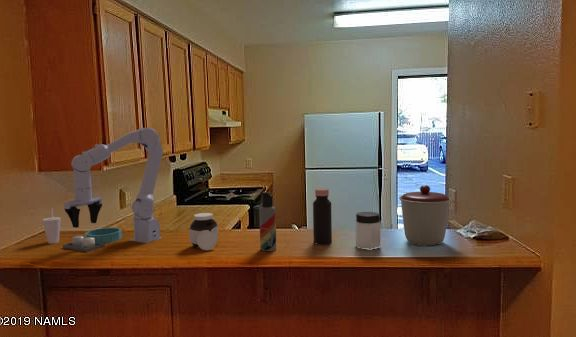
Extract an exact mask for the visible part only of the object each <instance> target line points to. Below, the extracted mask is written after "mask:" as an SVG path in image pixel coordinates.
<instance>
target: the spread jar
mask: <svg viewBox="0 0 576 337" xmlns="http://www.w3.org/2000/svg"><path fill="white" fill-rule="evenodd" d="M213 215H214V214H213V213H210V212H200V213H195V214H193V221H192V222H191V223H190V226H189V241H190V244H191V245H192V246H194V247H195V248H197V247H200V248H199V249H201V250H203V251H211V250H212V249H214V248H215V247H216V245H217V242H218V239H219V226H218V223H217V222H216V220H215V219H214V216H213Z"/></svg>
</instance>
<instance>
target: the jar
mask: <svg viewBox="0 0 576 337" xmlns="http://www.w3.org/2000/svg"><path fill="white" fill-rule="evenodd" d="M355 217H356V218H355V246H356V245H357V246H358V247H360V248H369V249H371V248H375V247H379V246H380V247H381V222H380V219H381V218H380V217H381V216H380V213H378V212H376V211H375V212H374V211H359V212H357V213H355ZM357 246H356V247H357Z"/></svg>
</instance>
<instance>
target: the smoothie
mask: <svg viewBox="0 0 576 337" xmlns="http://www.w3.org/2000/svg"><path fill="white" fill-rule="evenodd" d="M50 211H51V217H46V218H43V219H42V223H43V228H44V231H45V236H46V241H47V244H57V243H59V242H60V228H61V221H62V218H61V217H60V216H59V217H58V216H54V207H51V209H50Z"/></svg>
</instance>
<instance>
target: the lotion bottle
mask: <svg viewBox="0 0 576 337" xmlns="http://www.w3.org/2000/svg"><path fill="white" fill-rule="evenodd" d="M273 203H274V202H273V193H269V194H261V206H260V207H259V210H258V213H259V214H258V215H259V243H260V244H259V246H260V251H261V250H262V252H265V251H270V252H273V251H274V250H275V251H276V250H277V221H276V220H277V218H276V216H277V215H276V212H277V211H276V207H275V206H274V204H273Z"/></svg>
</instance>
